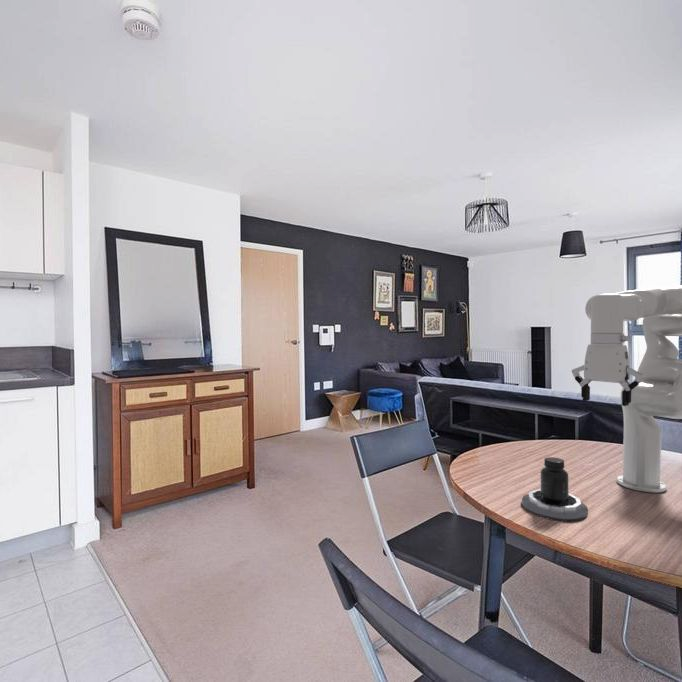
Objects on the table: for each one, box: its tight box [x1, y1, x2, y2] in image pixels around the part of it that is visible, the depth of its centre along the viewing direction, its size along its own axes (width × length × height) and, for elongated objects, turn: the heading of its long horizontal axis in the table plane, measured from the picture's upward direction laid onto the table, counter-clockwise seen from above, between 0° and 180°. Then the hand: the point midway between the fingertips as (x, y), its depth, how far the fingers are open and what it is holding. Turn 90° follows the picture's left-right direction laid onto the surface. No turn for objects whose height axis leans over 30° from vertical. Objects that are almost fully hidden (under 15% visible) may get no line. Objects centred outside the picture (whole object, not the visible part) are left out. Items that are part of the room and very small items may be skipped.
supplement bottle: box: [540, 456, 570, 506], centre depth 118 cm, size 7×7×12 cm
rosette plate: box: [521, 488, 589, 522], centre depth 119 cm, size 16×16×3 cm
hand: (605, 402), depth 119 cm, fingers open, 9 cm apart
